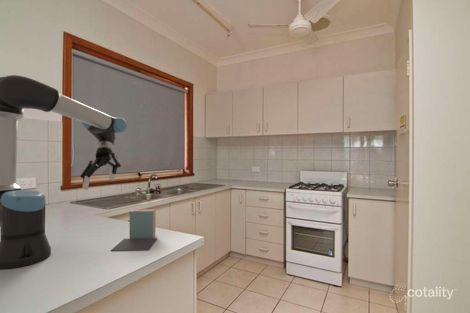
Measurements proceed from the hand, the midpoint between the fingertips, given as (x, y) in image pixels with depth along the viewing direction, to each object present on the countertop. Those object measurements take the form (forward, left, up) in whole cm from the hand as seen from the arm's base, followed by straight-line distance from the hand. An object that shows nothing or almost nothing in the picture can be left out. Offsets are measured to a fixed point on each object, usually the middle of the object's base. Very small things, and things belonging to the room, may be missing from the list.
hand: (98, 183), depth 113 cm
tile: (-8, -23, -23) cm, 33 cm away
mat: (-17, -23, -23) cm, 37 cm away
